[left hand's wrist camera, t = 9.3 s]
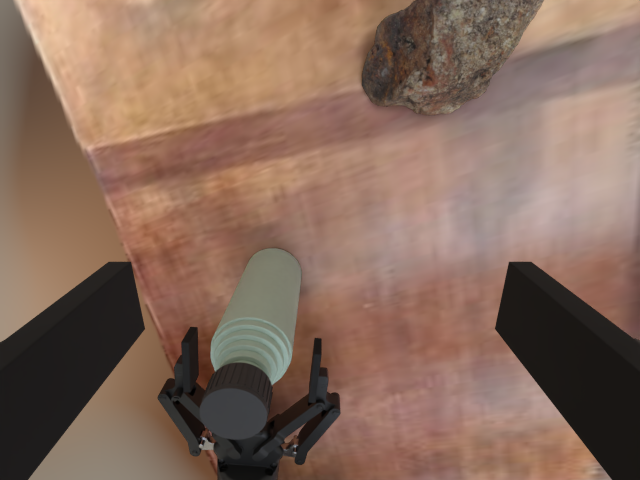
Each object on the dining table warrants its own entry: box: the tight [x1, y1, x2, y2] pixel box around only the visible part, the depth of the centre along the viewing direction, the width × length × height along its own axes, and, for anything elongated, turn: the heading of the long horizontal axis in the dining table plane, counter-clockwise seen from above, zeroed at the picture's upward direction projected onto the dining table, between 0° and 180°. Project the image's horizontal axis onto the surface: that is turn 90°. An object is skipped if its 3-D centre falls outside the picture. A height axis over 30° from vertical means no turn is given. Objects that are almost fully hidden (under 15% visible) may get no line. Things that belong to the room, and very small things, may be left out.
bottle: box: [210, 248, 302, 385], centre depth 33 cm, size 7×7×20 cm
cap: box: [199, 362, 273, 440], centre depth 24 cm, size 4×4×2 cm
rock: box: [362, 0, 543, 115], centre depth 30 cm, size 14×9×10 cm
